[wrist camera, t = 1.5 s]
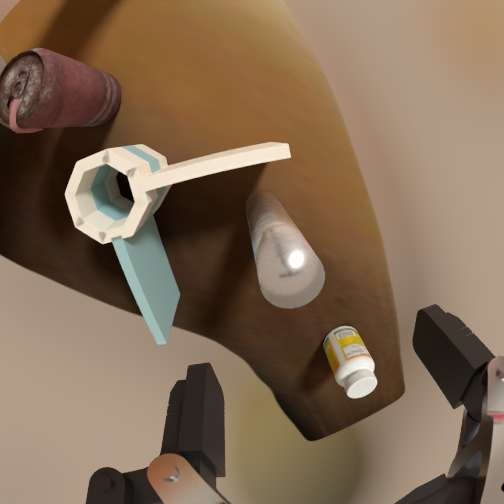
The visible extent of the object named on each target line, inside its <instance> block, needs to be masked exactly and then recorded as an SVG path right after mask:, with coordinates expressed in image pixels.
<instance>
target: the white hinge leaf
mask: <svg viewBox="0 0 504 504" xmlns="http://www.w3.org/2000/svg"><path fill="white" fill-rule="evenodd" d="M133 146H135V147H137V148H139V149H140V150H142V151H144V152H146V153H148V154H149V155H151V156H153V157H155V158H156V159H158V161H159V164H160V168H161V169H160V170H158V171H156V172H154V173H152V172H151V168H150V164H149V162H147V161H145V160H144V159H142V158H140V157H138V156H137V155H135V154H133V153H131V152H129V151H128V150H126V149H124V148H122V147H117V148H110V149H106V150H103V151H101V152H98V153H96V154H93V155H91V156H89V157H86V158H84V159H82V160H79V161H77V162H76V165H75V167H74V170H73V172H72V175H71V178H70V180H69V183H68V186H67V188H66V191H65V197H66V201H67V204H68V207H69V210H70V213H71V216H72V219H73V222H74V225H75V227H76V228H77V229H79V230H81V231H82V232H84V233H85V234H87V235H88V236H90V237H92V238H93V239H95V240H96V241H98V242H100V243H101V244H105V243H109V242H112V240H111V238H113V237H114V238H113V239H115V240H118V239H117V238H115V237H117V236H122V238H121V239H123V238H127V237H131V236H133V235H134V234H135V233H136V232H137V231H138V230H139V228H140V227H141V226H142V225H143V224H144V222H145V220H146V218H147V216H148V214H149V212H150V210H151V208H152V206H153V204H154V202H155V201H156V199H157V197H158V194H157V190H156V188H160V187H163V186H165V187H166V190H165V192H164V194H163V196H162V197H161V199H160V201H159V203H158V205H157V207H156V209H155V210H154V212H155V211H156V210H157V209H158V208H159V207H160V205H161V204H162V202H163V200H164V198H165V196H166V194H167V193H168V191H169V189H170V187H171V186H172V184H174V183H178V182H181V181H185V180H189V179H193V178H197V177H201V176H205V175H209V174H213V173H217V172H222V171H226V170H230V169H235V168H240V167H244V166H249V165H254V164H259V163H264V162H269V161H274V160H280V159H285V158H291V156H290V150H289V145H288V144H285V143H276V142H268V143H263V144H257V145H252V146H247V147H242V148H238V149H233V150H229V151H224V152H220V153H215V154H211V155H207V156H203V157H199V158H195V159H191V160H188V161H184V162H180V163H176V164H173V165H169V166H168V165H167V161H166V157H164V156H163V155H161V154H159V153H157V152H156V151H154V150H152V149H150V148H149V147H147V146H145V145H143V144H141V145H133ZM106 164H108V165H110V166H111V169H110V171H109V173H108V175H107V177H106V179H105V182H104V183H105V186H106V190H107V193H108V196H109V200H110V202H111V203H113V204H115V205H116V206H118V207H120V208H122V209H123V210H125V211H130V214H129V216H128V217H127V218H123V219H120V220H117V221H115V220H113V219H112V218H110V217H108V216H107V215H105V214H103V213H102V212H100V211H99V210H97V207H96V204H95V201H94V198H93V194H92V191H91V186H92V183H93V181H94V179H95V176H96V174H97V172H98V170H99V167H101V166H104V165H106ZM119 171H120V172H122V173H123V174H125V175H127V176H128V180H129V183H130V187H131V190H132V194H133V197H134V201H135V203H133V202H132V201H130V200H128V199H127V198H125V197H123V196H121V194H120V190H119V187H118V183H117V180H116V176H117V174H118V172H119ZM154 212H153V213H154ZM115 240H114V241H115Z"/></svg>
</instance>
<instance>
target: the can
mask: <svg viewBox="0 0 504 504" xmlns="http://www.w3.org/2000/svg"><path fill="white" fill-rule="evenodd" d="M120 100H121V87H120V85H119V83H118V81H117V79H115V78H114V77H113V76H112V75H110V74H108V73H105V72H103V71H101V70H99V69H96V68H94V67H91V66H89V65H87V64H84V63H82V62H79V61H77V60H74V59H72V58H69V57H67V56H64V55H61V54H58V53H56V52H53V51H50V50H47V49H43V48H34V49H30V50H27V51H24V52H21V53H19V54H18V55H16V56H15V57H14V58H12V60H11V61H10V62H9V63H8V64H7V65H6V66H5V68H4V70H3V71H2V73H1V75H0V123H1V124H3V125H5V126H6V127H7V128H9V129H12V130H13V131H14V132H16V133H32V132H36V131H40V130H43V128H56V127H97V126H100V125H103V124H104V123H106V122H107V121H108V120H110V119H111V118H112V116H113V115H114V114H115V113H116V111H117V109H118V107H119V105H120Z"/></svg>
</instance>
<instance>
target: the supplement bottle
mask: <svg viewBox="0 0 504 504" xmlns="http://www.w3.org/2000/svg"><path fill="white" fill-rule="evenodd" d="M323 346H324V350H325V353H326V355H327V358H328V360H329V363H330V366H331V368H332V371H333V374H334V377H335V379H336V381H337V383H338V384H339V385H341V386H343V387H344V389H345V391H346V393H347V395H348V396H349V397H350V398H360V397H363V396H365V395H367V394H369V393H370V392H371V391H372V390H374V388H375V387H376V385H377V379H376V377H375V375H374V373H373V371H374V362H373V360H372V358H371V356H370V354H369V352H368V350H367V349H366V347H365V345H364V343H363V341H362V340H361V338H360V336H359V334H358V332H357V331H356V330H355V329H354V328H352V327H350V326H341V327H338V328H336V329H334V330H332V331H331V332H330V333H329V334H328V335H327V336H326V338H325V340H324V344H323Z"/></svg>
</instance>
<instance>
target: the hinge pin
mask: <svg viewBox="0 0 504 504" xmlns="http://www.w3.org/2000/svg"><path fill="white" fill-rule="evenodd" d="M245 210H246V215H247V220H248V226H249V231H250V236H251V241H252V246H253V252H254V257H255V262H256V267H257V273H258V278H259V283H260V288H261V291H262V294H263V295H264V297H265V298H266V299H267V300H268V301H269V302H270V303H272V304H273V305H275V306H278V307H281V308H296V307H300V306H303V305H305V304H307V303H309V302H310V301H312V300H313V299H314V298H315V297H316V296H317V295H318V294H319V292H320V291H321V289H322V287H323V284H324V280H325V272H324V268H323V265H322V263H321V262H320V260H319V259H318V257H317V256H316V254H315V253H314V251H313V250H312V248H311V247H310V245H309V244H308V242H307V241H306V240H305V238H304V237H303V235H302V234H301V232H300V231H299V229H298V228H297V227H296V225H295V224H294V222H293V221H292V219H291V218H290V217H289V215H288V214H287V212H286V211H285V210H284V208H283V207H282V205H281V204H280V203H279V201H278V200H277V198H276V197H275V196H274V195H273V194H272V193H270V192H268V191H264V190H260V191H256V192H254V193H252V194H251V195H250V196H249V197H248V199H247V201H246V204H245Z"/></svg>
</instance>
